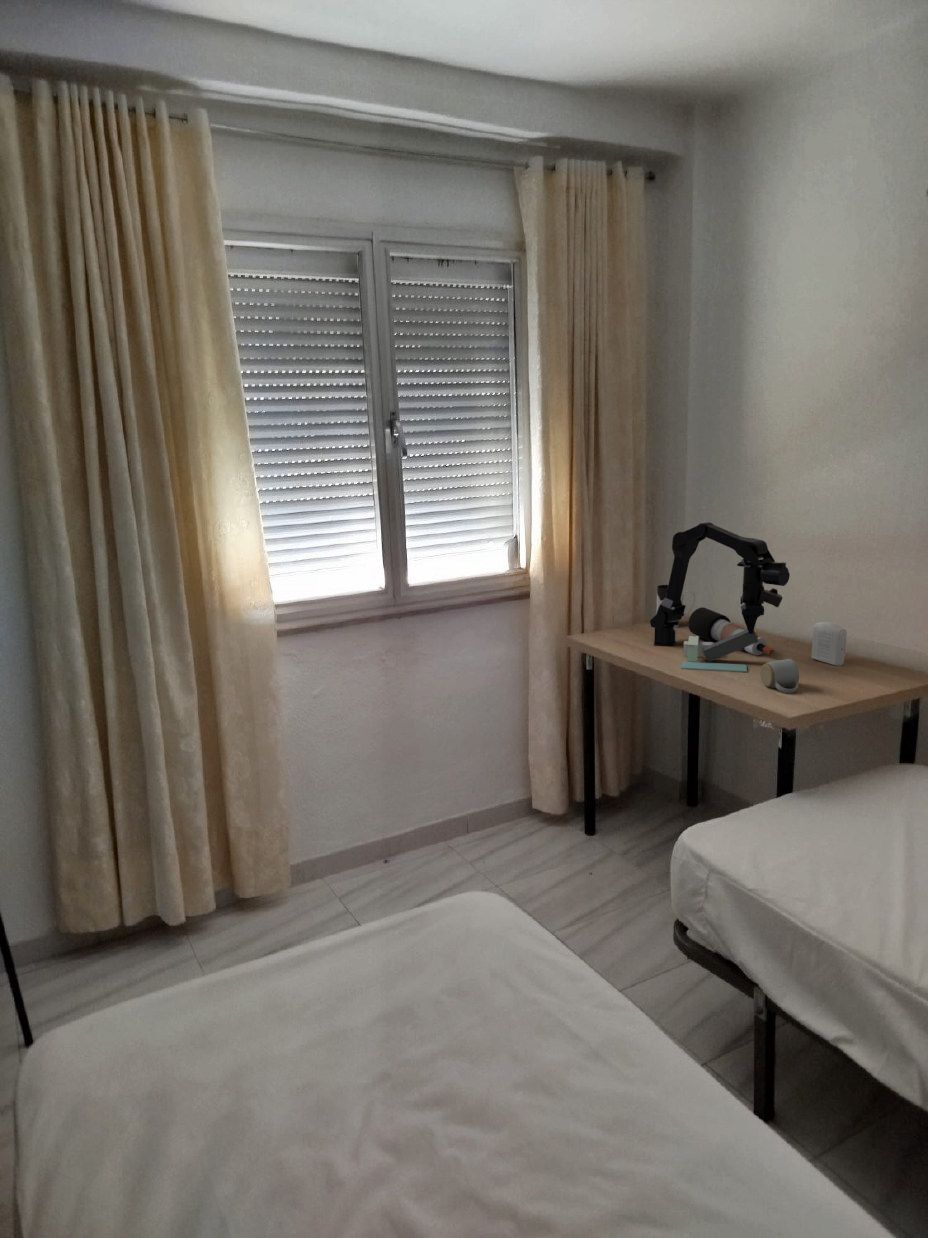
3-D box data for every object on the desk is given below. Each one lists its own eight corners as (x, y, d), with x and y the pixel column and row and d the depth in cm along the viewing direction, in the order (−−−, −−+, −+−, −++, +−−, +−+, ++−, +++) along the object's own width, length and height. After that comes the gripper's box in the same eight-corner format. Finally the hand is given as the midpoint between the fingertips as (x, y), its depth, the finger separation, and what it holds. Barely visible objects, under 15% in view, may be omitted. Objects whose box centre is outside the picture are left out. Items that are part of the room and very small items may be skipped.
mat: (681, 668, 243) (681, 667, 243) (682, 662, 250) (682, 661, 249) (747, 672, 237) (747, 671, 237) (746, 666, 244) (746, 664, 244)
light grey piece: (687, 662, 249) (687, 645, 248) (688, 651, 262) (689, 635, 261) (697, 663, 248) (697, 645, 247) (698, 652, 261) (698, 635, 260)
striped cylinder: (763, 673, 252) (756, 648, 247) (692, 639, 280) (685, 617, 276) (786, 655, 254) (779, 631, 249) (714, 624, 283) (706, 602, 278)
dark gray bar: (706, 663, 249) (700, 652, 249) (706, 660, 253) (700, 648, 253) (760, 640, 243) (754, 629, 242) (760, 637, 246) (754, 626, 246)
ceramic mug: (757, 683, 226) (759, 657, 224) (783, 681, 228) (785, 655, 226) (778, 695, 216) (780, 668, 214) (805, 693, 218) (807, 666, 216)
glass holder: (657, 622, 304) (657, 584, 301) (695, 625, 299) (696, 585, 295) (652, 627, 296) (653, 588, 293) (692, 630, 291) (693, 589, 288)
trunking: (683, 656, 257) (683, 644, 256) (683, 652, 261) (684, 641, 260) (712, 657, 254) (712, 645, 253) (712, 654, 258) (712, 642, 257)
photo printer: (846, 664, 242) (849, 625, 240) (836, 666, 241) (839, 626, 238) (818, 657, 251) (821, 618, 249) (809, 658, 250) (811, 620, 247)
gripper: (783, 588, 230) (780, 640, 234) (779, 577, 248) (776, 626, 251) (743, 587, 234) (740, 638, 237) (741, 576, 251) (739, 624, 255)
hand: (750, 631), depth 245 cm, fingers closed on dark gray bar, 4 cm apart
